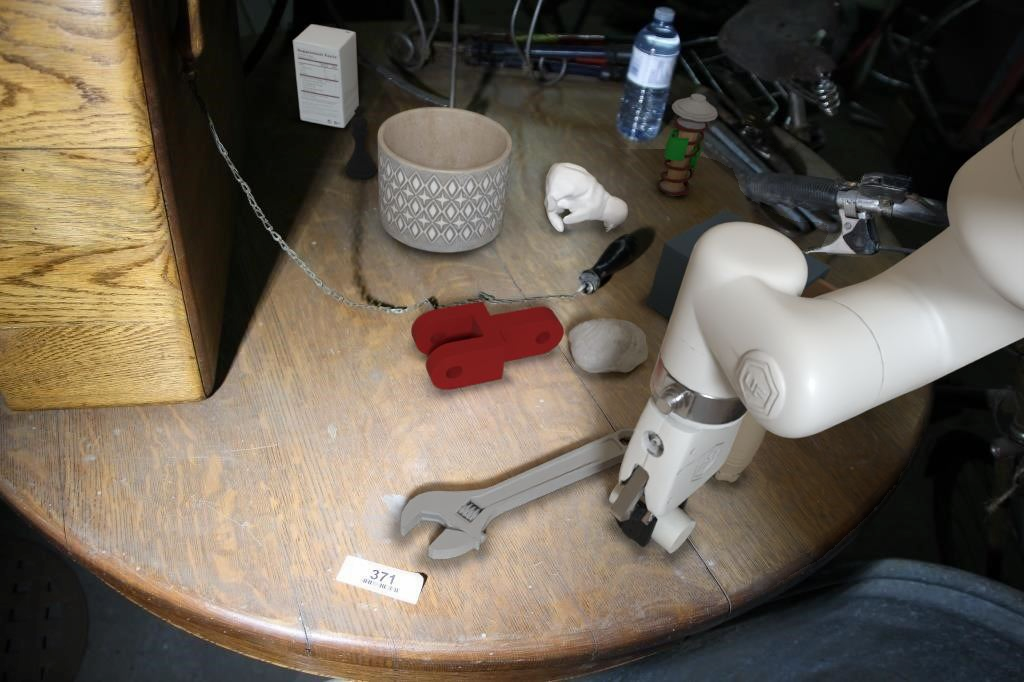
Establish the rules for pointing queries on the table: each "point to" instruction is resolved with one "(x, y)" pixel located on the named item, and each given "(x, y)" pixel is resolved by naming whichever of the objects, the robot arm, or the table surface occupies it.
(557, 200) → the white figurine
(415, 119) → the planter
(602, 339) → the pebble
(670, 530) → the white cylinder
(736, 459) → the handle
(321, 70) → the white packaging box
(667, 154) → the shock absorber
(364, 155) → the chess piece
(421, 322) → the mechanical linkage
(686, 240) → the cabinet
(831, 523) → the table surface
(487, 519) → the adjustable wrench
